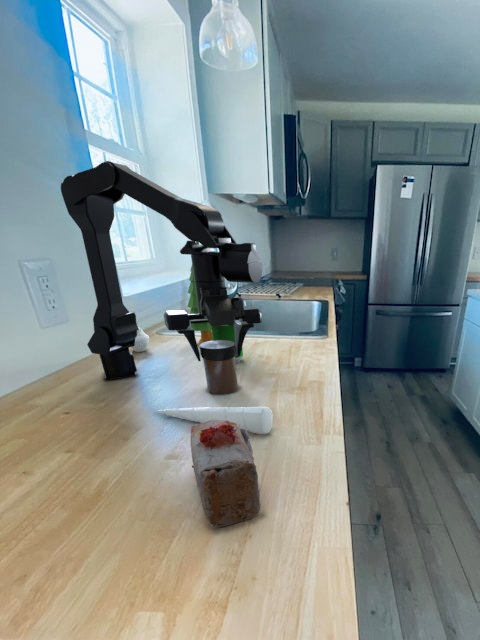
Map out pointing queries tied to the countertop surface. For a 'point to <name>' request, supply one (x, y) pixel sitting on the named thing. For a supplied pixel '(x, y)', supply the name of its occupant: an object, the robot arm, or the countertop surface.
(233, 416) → the unicorn horn
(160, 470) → the countertop surface
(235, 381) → the coffee jar
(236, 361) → the soda can
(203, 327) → the decorative tree
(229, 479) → the food item
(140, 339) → the garlic bulb
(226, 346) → the jar lid
